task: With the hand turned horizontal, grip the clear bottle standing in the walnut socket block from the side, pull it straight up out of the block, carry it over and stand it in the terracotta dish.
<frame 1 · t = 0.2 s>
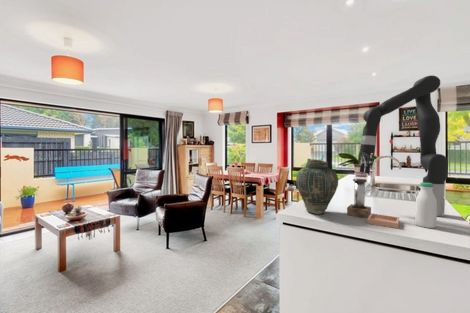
hand: (364, 172, 134), 22 cm above the countertop, tool pointing down, fingers open, 8 cm apart
clear bottle: (359, 196, 128), in the socket block
socket block: (359, 214, 128), on the countertop
vase: (316, 212, 132), on the countertop
milk bottle: (425, 226, 110), on the countertop
dish: (383, 222, 114), on the countertop
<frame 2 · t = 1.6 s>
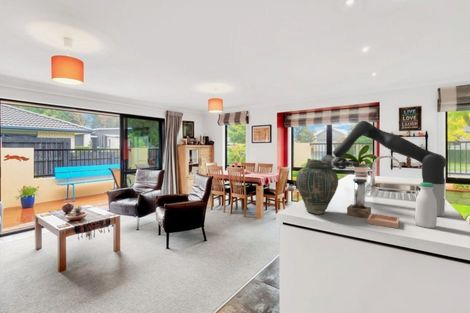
hand: (350, 165, 138), 26 cm above the countertop, tool horizontal, fingers open, 8 cm apart
nothing on the countertop moved.
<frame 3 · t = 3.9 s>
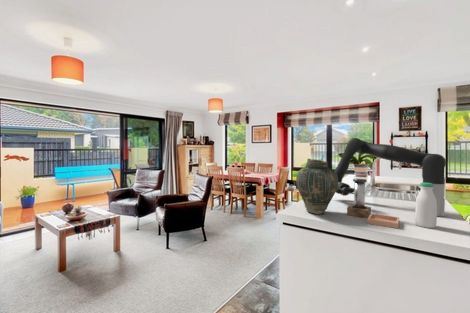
hand: (353, 193, 134), 10 cm above the countertop, tool horizontal, fingers open, 8 cm apart
nothing on the countertop moved.
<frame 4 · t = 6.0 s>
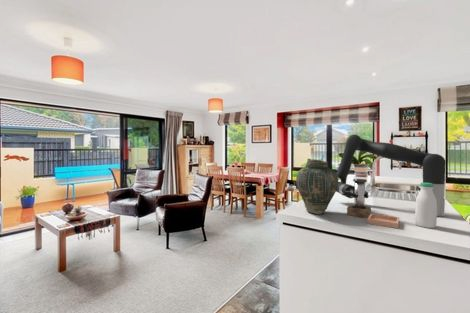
hand: (362, 196, 125), 11 cm above the countertop, tool horizontal, fingers closed on clear bottle, 5 cm apart
clear bottle: (359, 196, 128), in the socket block, touching gripper
everything else where it was.
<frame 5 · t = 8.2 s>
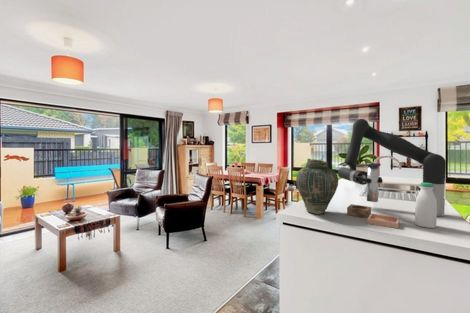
hand: (375, 181, 117), 20 cm above the countertop, tool horizontal, fingers closed on clear bottle, 5 cm apart
clear bottle: (372, 182, 120), point 19 cm above the countertop, touching gripper
everything else where it was.
when the fingers open (12 cm above the countertop, at t = 10.5 s): clear bottle stays where it is, resting on dish.
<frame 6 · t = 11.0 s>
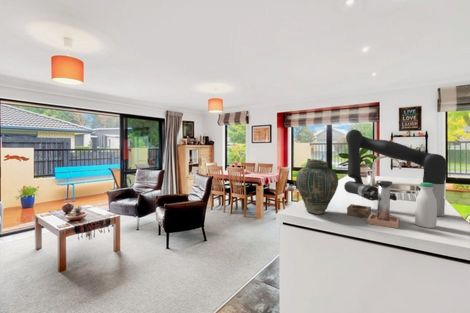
hand: (386, 198, 111), 12 cm above the countertop, tool horizontal, fingers open, 8 cm apart
clear bottle: (383, 201, 113), in the dish, point 10 cm above the countertop
everything else where it was.
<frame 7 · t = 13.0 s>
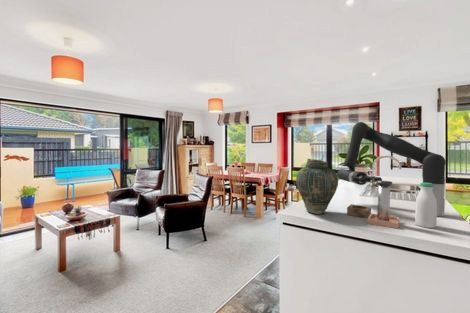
hand: (372, 180, 125), 19 cm above the countertop, tool horizontal, fingers open, 8 cm apart
nothing on the countertop moved.
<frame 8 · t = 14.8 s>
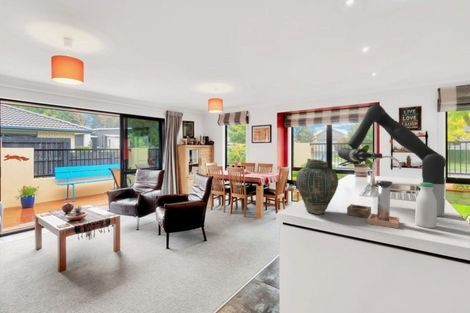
hand: (373, 155, 126), 32 cm above the countertop, tool horizontal, fingers open, 8 cm apart
nothing on the countertop moved.
at the end: clear bottle inside the target area on the dish (0.1 cm from its centre), point 10.4 cm above the dish's base; clear bottle tilted 0°; the gripper is holding nothing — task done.
